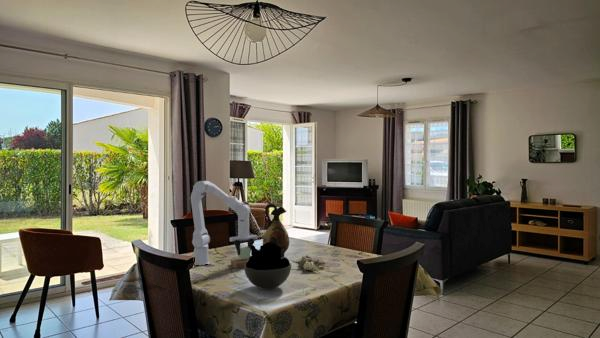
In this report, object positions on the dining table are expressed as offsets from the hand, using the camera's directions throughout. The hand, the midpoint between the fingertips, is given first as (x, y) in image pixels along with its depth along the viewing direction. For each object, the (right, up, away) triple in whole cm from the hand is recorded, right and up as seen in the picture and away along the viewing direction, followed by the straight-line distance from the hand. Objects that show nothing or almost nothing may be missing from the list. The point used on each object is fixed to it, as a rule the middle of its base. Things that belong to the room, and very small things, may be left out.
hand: (243, 254), depth 210 cm
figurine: (+35, -6, -9) cm, 36 cm away
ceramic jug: (+15, -6, +23) cm, 28 cm away
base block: (0, -6, 0) cm, 6 cm away
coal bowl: (+16, -6, -39) cm, 43 cm away
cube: (0, -2, 0) cm, 2 cm away
